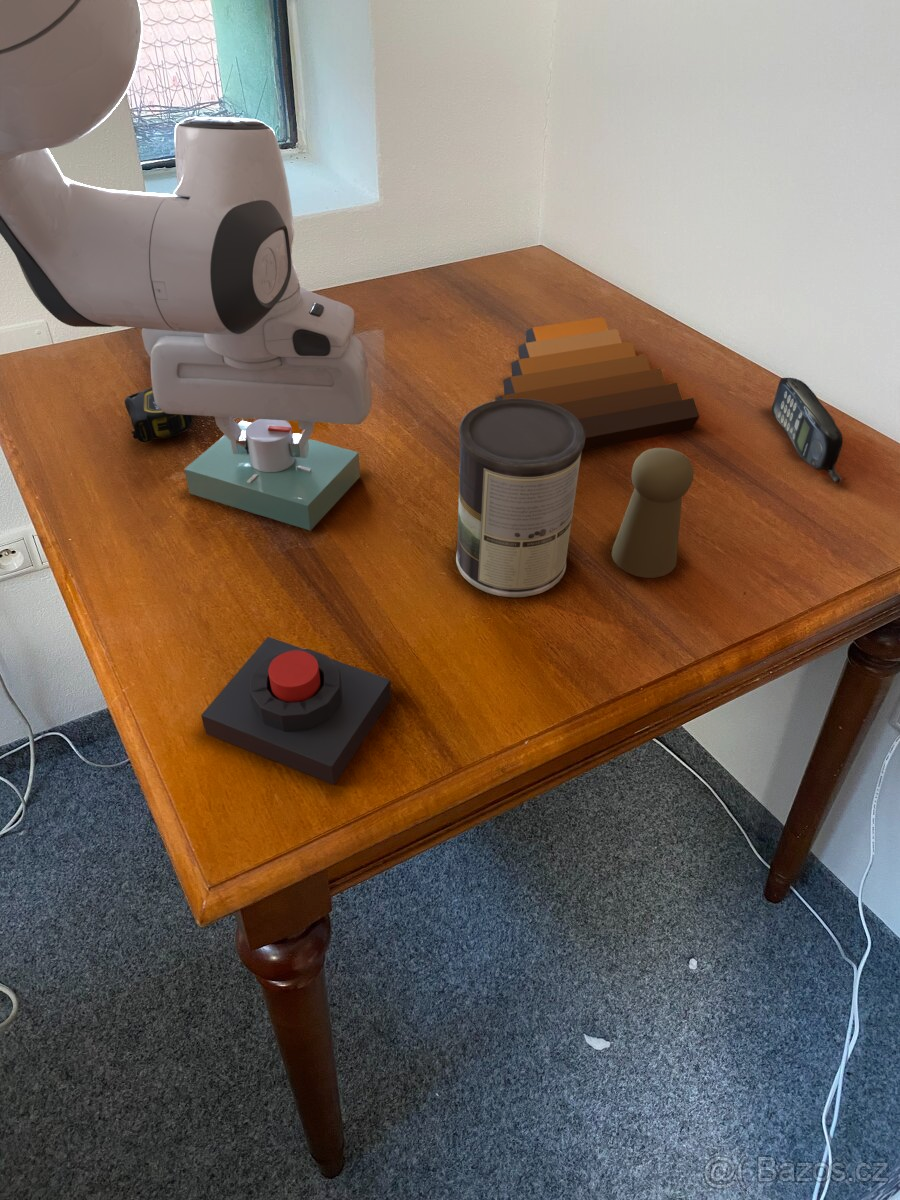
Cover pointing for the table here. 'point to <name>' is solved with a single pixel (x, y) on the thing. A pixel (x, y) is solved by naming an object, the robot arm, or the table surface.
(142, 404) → the tape measure
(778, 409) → the mobile phone
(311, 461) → the rotary dial box
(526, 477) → the coffee can
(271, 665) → the button
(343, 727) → the button block
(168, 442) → the table surface
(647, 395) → the pan flute
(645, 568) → the game pawn
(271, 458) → the rotary dial knob
